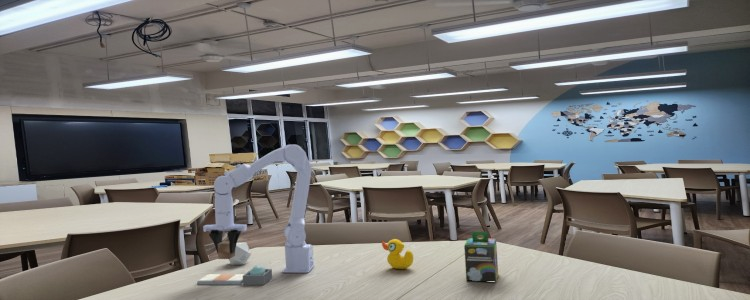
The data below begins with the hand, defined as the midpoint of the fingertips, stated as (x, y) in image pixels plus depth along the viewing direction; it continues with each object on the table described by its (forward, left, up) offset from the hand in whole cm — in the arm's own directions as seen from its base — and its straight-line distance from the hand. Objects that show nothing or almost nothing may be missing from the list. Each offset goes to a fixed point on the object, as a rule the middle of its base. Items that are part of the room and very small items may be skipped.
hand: (226, 252), depth 146 cm
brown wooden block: (0, 0, -2) cm, 2 cm away
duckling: (-57, -12, -9) cm, 58 cm away
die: (+4, -19, -9) cm, 21 cm away
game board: (0, +1, -9) cm, 9 cm away
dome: (-12, +2, -8) cm, 14 cm away
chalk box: (-84, -2, -9) cm, 84 cm away
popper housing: (-12, +2, -9) cm, 15 cm away
